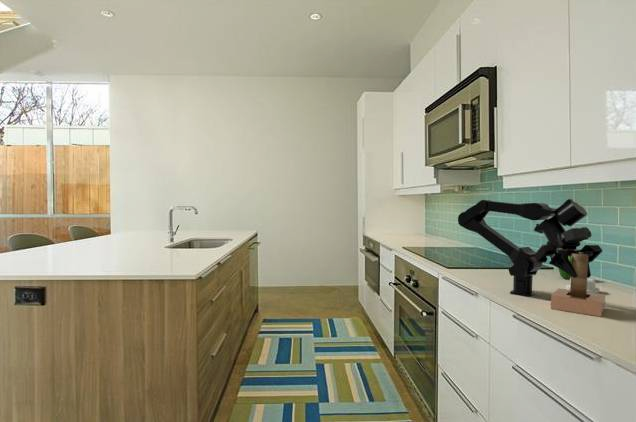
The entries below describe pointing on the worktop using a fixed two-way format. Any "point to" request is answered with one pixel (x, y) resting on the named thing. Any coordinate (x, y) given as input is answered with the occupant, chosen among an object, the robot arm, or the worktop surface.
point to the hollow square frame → (578, 302)
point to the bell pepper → (564, 274)
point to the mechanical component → (590, 286)
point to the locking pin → (579, 275)
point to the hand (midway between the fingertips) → (582, 276)
